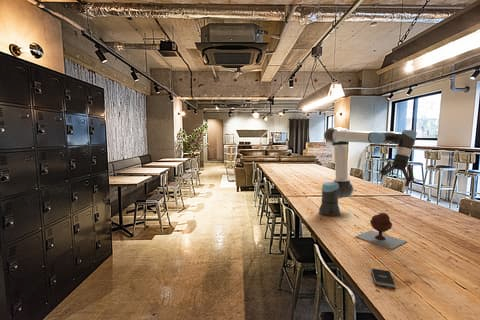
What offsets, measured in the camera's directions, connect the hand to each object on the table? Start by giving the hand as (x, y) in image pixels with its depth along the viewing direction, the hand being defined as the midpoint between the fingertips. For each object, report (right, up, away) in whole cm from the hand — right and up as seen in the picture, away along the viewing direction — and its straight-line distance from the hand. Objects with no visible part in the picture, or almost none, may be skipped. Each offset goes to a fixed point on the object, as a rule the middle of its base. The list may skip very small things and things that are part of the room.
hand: (392, 188), depth 158 cm
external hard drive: (-37, -32, -55) cm, 73 cm away
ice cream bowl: (-15, -27, -14) cm, 34 cm away
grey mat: (-15, -27, -14) cm, 35 cm away
